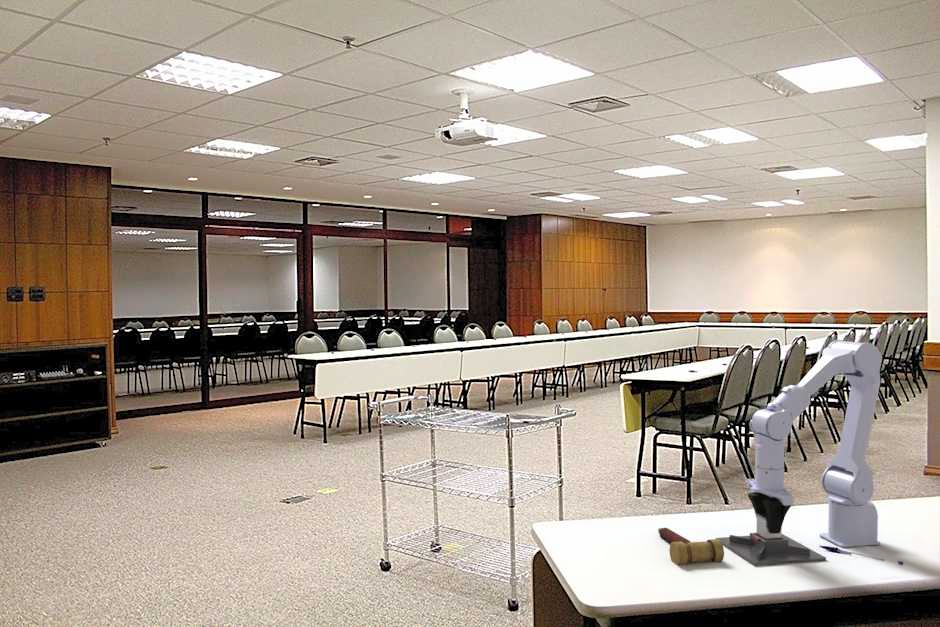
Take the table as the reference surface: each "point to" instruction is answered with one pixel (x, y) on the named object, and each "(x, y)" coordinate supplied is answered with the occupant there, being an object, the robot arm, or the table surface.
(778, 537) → the grey rectangular block
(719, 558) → the gavel
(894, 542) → the table surface
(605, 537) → the table surface
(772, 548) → the stand base
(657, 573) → the table surface
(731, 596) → the table surface
